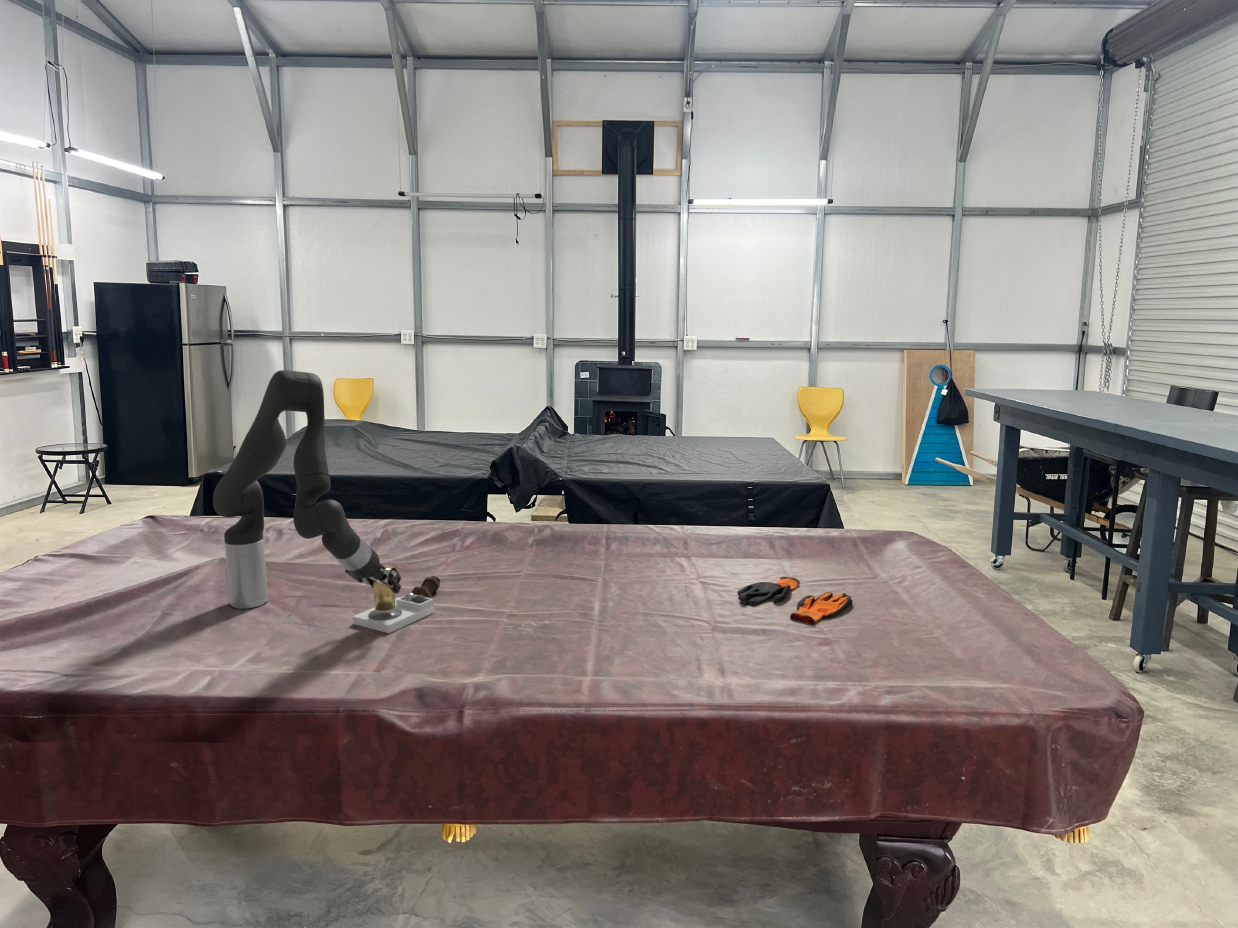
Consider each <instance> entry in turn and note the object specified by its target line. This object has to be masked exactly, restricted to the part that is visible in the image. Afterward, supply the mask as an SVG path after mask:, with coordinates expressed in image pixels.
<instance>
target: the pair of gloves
mask: <svg viewBox="0 0 1238 928" xmlns="http://www.w3.org/2000/svg"><path fill="white" fill-rule="evenodd" d="M800 584H801V583H800V580H798V578H796V577H790V576H789V577H788V576H781V577H780V578H779V580H778V581H776V582H770V581H760V582H755V583H751V584H748V585H746V586H745V587H743V588H740V589H739V590H738V591H737V595H738V600H739V601H740V603H742V604H744V605H751V606H756V605H758V604H761V603H762V602H764V601H767V600H768V599H769V598H771V597H772V596H773V595H774V594H776V593H778V594H777V595H774V598H773V599H772V602H773V603H778V602H779V601H781V600H783V599H785V598H787V597H788V596H789V593H790V591H792V590H795V589H796V588H798V587H799V586H800ZM796 590H797V589H796ZM852 604H853V599H852V597H851V596H850V595H848V594H847V593H845V592H841V593H839V594H837V595H836V594H835V595H834V593H833V592H832V591H826V592H824V593H823V594H821V595H820V596H818V597H817V598H816V596H815V595H810V594H808V595H806V596H803V597H802V598H801V599H800V600H799V601H797V605H796V610H797V611H795V612H792V613H791V614H790V616H789V619H790V620H792V621H801V622H802V623H804V624H810V625H815V623H817V622H819V621H820V620H821V619H829V618H833V617H835V616H837V615H838V614H839V613H841V612H842V611H843V610H845V608H848V607H850V606H851V605H852ZM810 622H811V623H810Z"/></svg>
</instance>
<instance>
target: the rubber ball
mask: <svg viewBox="0 0 1238 928" xmlns="http://www.w3.org/2000/svg"><path fill="white" fill-rule="evenodd" d="M425 601H426V598H425V597H424V596H423V595H417V596H416V597H415V598H414V603H418V604H420V603H423V602H425Z"/></svg>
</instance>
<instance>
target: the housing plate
mask: <svg viewBox="0 0 1238 928" xmlns="http://www.w3.org/2000/svg"><path fill="white" fill-rule="evenodd" d="M404 596H405V595H404ZM404 596H401V597H400V596H399V597H395V608H394V609H391V610H387V611H378V610H375V608H374V607H371V608H369V609H366V610H365V611H362V612H360V613H357V614H355V615H353V616H352V624H353V625H355V626H359V627H363V628H368V629H371V630H375V631H379V632H383V633H386V634H392V633H393V632H395V631H397V630H399V629H401V628H404V627H406V626H408V625H410V624H412V623H415V622H417V621H419V620H421V619H423V618H425V617H428V616H430V615H432V614H434V613H435V605H434V604H435V603H434V601H435V600H434V598H432V597H431V598H427V597H425V598H426V601H425V602H423V603H420V604H418V603H414V602H410V601H405V600H404ZM415 596H417V595H415Z"/></svg>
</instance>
